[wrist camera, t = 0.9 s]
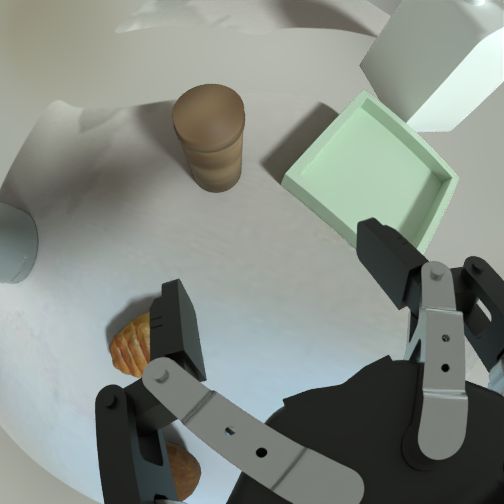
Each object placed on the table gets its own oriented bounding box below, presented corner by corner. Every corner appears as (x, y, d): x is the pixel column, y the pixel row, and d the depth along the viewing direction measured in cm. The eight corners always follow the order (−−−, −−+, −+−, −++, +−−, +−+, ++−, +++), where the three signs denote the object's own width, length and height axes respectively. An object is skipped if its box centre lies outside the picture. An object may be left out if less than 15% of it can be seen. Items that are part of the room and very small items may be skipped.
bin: (280, 184, 29) (285, 173, 26) (355, 102, 31) (363, 88, 28) (392, 283, 28) (406, 282, 25) (445, 185, 30) (459, 177, 27)
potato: (132, 472, 24) (111, 508, 16) (146, 414, 25) (121, 448, 17) (190, 493, 24) (181, 534, 16) (212, 438, 25) (205, 480, 17)
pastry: (129, 384, 26) (116, 396, 22) (106, 325, 26) (89, 329, 23) (210, 361, 27) (206, 372, 23) (185, 298, 27) (177, 299, 23)
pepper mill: (182, 173, 28) (156, 116, 18) (215, 140, 29) (207, 73, 18) (219, 203, 28) (209, 154, 17) (252, 167, 29) (260, 106, 18)
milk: (450, 131, 32) (561, 39, 6) (396, 133, 31) (522, 1, 5) (415, 69, 33) (493, -33, 7) (359, 65, 32) (432, -71, 6)
